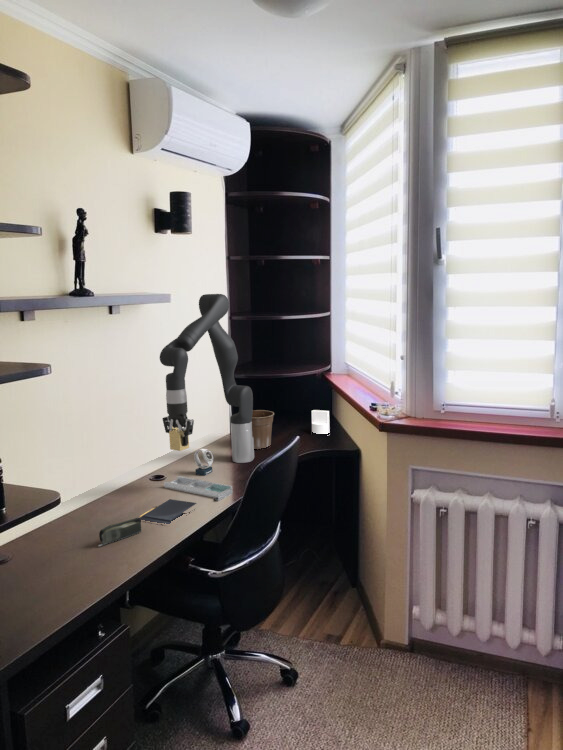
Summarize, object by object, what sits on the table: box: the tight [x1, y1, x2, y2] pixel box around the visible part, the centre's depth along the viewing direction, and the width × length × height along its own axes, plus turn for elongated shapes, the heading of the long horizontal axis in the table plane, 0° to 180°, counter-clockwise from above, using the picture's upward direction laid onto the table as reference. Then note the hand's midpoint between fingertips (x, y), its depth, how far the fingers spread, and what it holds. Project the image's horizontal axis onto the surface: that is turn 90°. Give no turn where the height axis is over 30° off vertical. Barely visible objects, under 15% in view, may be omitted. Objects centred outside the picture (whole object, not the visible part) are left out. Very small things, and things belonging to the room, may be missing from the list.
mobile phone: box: [97, 517, 142, 548], centre depth 177 cm, size 5×3×15 cm
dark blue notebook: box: [138, 498, 197, 524], centre depth 198 cm, size 20×2×15 cm
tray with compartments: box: [163, 475, 233, 502], centre depth 216 cm, size 8×26×3 cm, turn 58°
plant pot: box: [252, 409, 275, 450], centre depth 274 cm, size 16×16×16 cm
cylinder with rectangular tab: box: [311, 409, 331, 434], centre depth 293 cm, size 9×9×12 cm
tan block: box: [168, 428, 190, 452], centre depth 218 cm, size 5×5×7 cm
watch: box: [193, 448, 214, 477], centre depth 234 cm, size 6×8×11 cm
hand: (179, 444), depth 218 cm, fingers closed on tan block, 5 cm apart
